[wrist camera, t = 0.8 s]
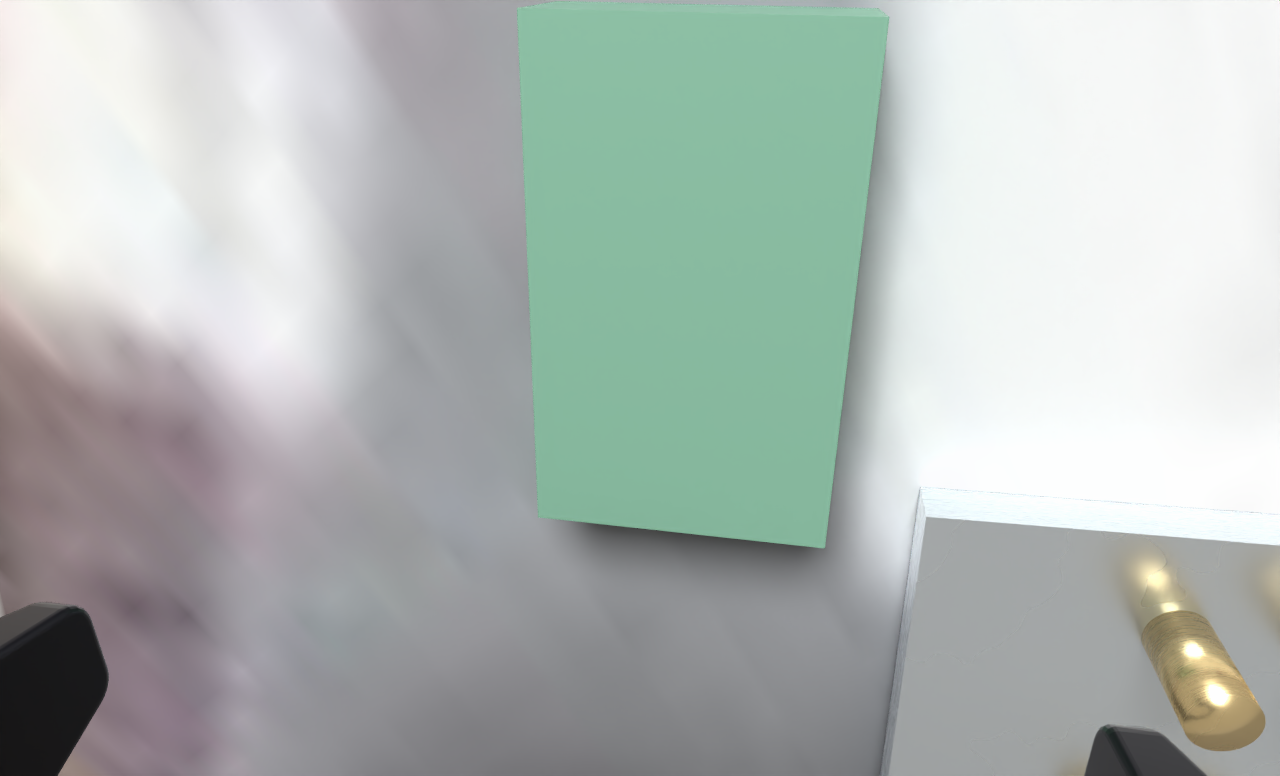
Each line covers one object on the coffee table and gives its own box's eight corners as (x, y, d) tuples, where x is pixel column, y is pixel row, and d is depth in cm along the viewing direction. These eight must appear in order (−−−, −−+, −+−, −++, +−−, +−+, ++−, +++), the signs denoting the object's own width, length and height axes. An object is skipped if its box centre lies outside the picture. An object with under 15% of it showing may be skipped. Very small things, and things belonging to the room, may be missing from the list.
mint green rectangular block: (823, 473, 21) (824, 548, 18) (571, 449, 22) (538, 517, 19) (876, 7, 17) (889, 16, 14) (561, 0, 18) (517, 8, 15)
